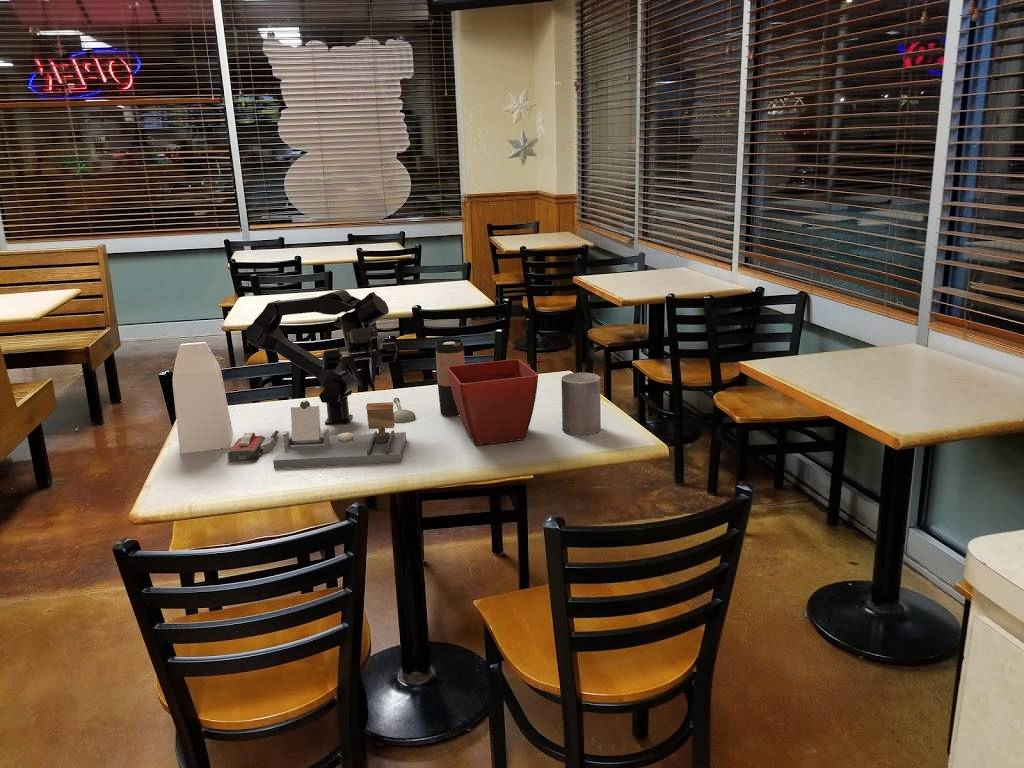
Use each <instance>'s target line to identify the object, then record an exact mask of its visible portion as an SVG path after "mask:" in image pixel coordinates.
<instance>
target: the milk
mask: <svg viewBox="0 0 1024 768" xmlns="http://www.w3.org/2000/svg"><path fill="white" fill-rule="evenodd" d="M223 378H224V377H223V375H222V369H221V365H220V363H219V362H218V359H217V358H216V357H215V355H214V353H213V352H212V350H211V349H210V346H209V345H208V343H207V342H206V341H202V342H190V343H181V344H180V345H179V347H178V350H177V353H176V357H175V362H174V368H173V372H172V390H173V391H172V392H173V400H174V409H175V410H174V411H175V417H176V418H175V420H176V427H177V437H178V447H179V449H178V450H179V454H180V453H182V454H190V453H197V451H199V452H205V451H213V450H214V449H215V450H221V448H223V449H230V448H229V447H231V448H232V445H231V444H232V443H233V438H234V437H233V436H234V431H233V426H232V420H231V416H230V415H231V414H230V411H229V410H230V409H229V406H228V400H227V399H228V398H227V395H226V394H227V393H226V390H225V385H224V379H223ZM232 437H233V438H232Z"/></svg>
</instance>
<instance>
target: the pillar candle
mask: <svg viewBox="0 0 1024 768" xmlns="http://www.w3.org/2000/svg"><path fill="white" fill-rule="evenodd" d="M560 383H561V419H562V428H561V429H562V432H563V431H564V432H563V433H564V434H567V435H571V436H576V435H578V437H580V436H581V437H582V436H583V435H586V436H591V434H592V435H594V434H596V433H598V432H600V431H601V428H602V427H601V426H602V425H601V419H602V417H601V415H602V414H601V376H599V375H598V374H595V373H591V372H572V373H568V374H565V375H563V376H561V382H560ZM583 437H584V436H583Z"/></svg>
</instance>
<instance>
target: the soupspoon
mask: <svg viewBox="0 0 1024 768" xmlns="http://www.w3.org/2000/svg"><path fill="white" fill-rule="evenodd" d="M400 400H401V399H400V398H399V397H395V398H393V403H396V406H397V408H398V410H396V411H393V413H394V424H407V423H412V422H415V420H416V414H415V412H414V411H411V410H409V409H403V408H402V405H401V404H400Z"/></svg>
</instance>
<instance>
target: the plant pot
mask: <svg viewBox="0 0 1024 768" xmlns="http://www.w3.org/2000/svg"><path fill="white" fill-rule="evenodd" d="M447 371H448V376H449V381H450V385H451V389H452V393H453V396H454V400H455V403H456V406H457V410H458V413H459V415H460V416H459V418H460V421H461V423H462V426H463V428H464V431H465V432H466V434H467V436H468V437H469V438H470V440H471V441H472V443H473V444H474V445H475V446H481V445H482V446H483V445H488V444H489V445H490V444H498V443H499V444H500V443H505V442H506V443H507V442H512V441H515V442H516V441H520V440H521V441H522V440H525V439H526V437H527V434H528V431H529V427H530V424H531V420H532V418H533V417H532V416H533V412H534V409H535V402H536V397H537V392H538V391H537V390H538V382H539V374H538V373H537V372H536V371H534V370H533V369H532V368H531V367H529V365H527V364H526V363H524V362H523V361H522V360H521V359H518V358H516V359H513V358H512V359H505V360H504V359H503V360H502V359H501V360H495V361H485V362H477V363H476V362H475V363H474V362H473V363H465V365H457V366H449V367H447Z"/></svg>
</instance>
